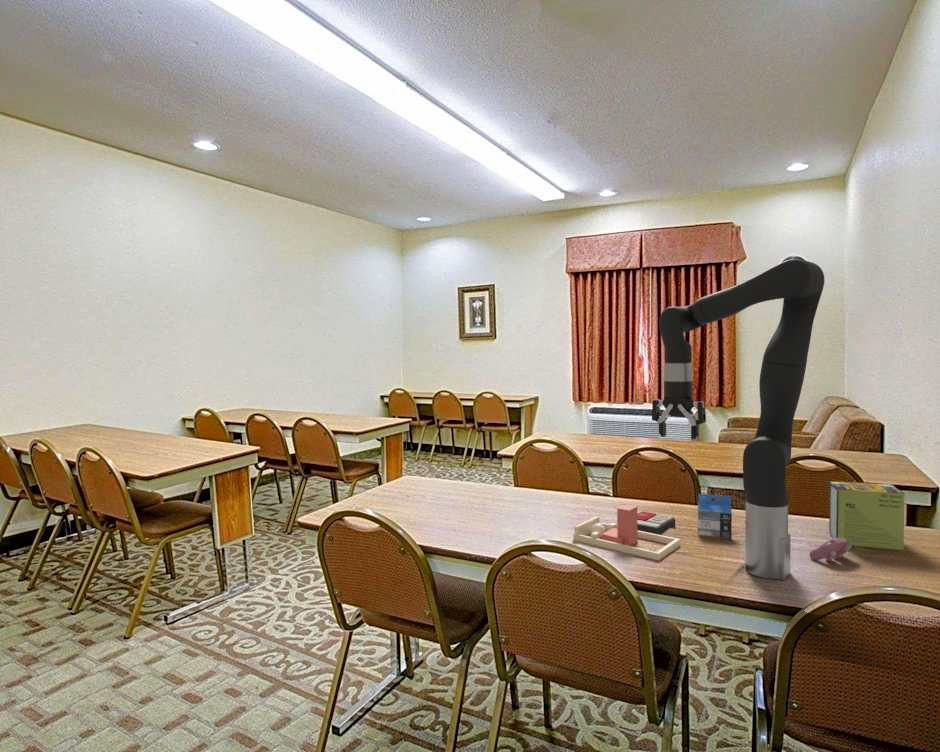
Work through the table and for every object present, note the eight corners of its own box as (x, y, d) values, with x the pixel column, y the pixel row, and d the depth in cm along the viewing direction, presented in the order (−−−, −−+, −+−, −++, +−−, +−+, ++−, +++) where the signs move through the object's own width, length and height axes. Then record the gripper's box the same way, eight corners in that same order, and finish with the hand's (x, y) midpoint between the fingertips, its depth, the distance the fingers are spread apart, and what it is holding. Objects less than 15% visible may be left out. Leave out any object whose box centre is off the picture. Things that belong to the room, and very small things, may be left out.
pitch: (680, 550, 156) (680, 531, 155) (658, 565, 145) (658, 546, 145) (597, 531, 172) (597, 515, 172) (573, 544, 162) (573, 527, 161)
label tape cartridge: (697, 539, 164) (697, 496, 163) (697, 535, 168) (697, 493, 167) (731, 542, 161) (731, 499, 160) (730, 538, 164) (730, 495, 164)
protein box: (904, 550, 152) (905, 493, 151) (837, 545, 157) (838, 489, 156) (891, 538, 162) (891, 484, 161) (828, 533, 167) (828, 480, 166)
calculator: (675, 516, 176) (657, 525, 164) (675, 529, 176) (657, 540, 164) (641, 510, 183) (621, 519, 171) (641, 523, 183) (621, 533, 171)
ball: (602, 519, 165) (592, 526, 168) (595, 522, 162) (585, 529, 165) (610, 531, 164) (601, 538, 166) (603, 534, 161) (594, 541, 163)
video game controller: (821, 569, 144) (834, 549, 141) (806, 556, 148) (818, 536, 145) (846, 562, 149) (859, 542, 145) (830, 549, 152) (843, 530, 149)
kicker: (639, 540, 160) (638, 505, 159) (627, 547, 154) (627, 511, 154) (613, 535, 165) (613, 501, 164) (601, 541, 160) (601, 506, 159)
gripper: (709, 379, 156) (709, 438, 156) (658, 378, 165) (659, 433, 166) (699, 380, 150) (699, 442, 151) (647, 379, 160) (647, 437, 160)
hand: (678, 437), depth 158 cm, fingers open, 8 cm apart
